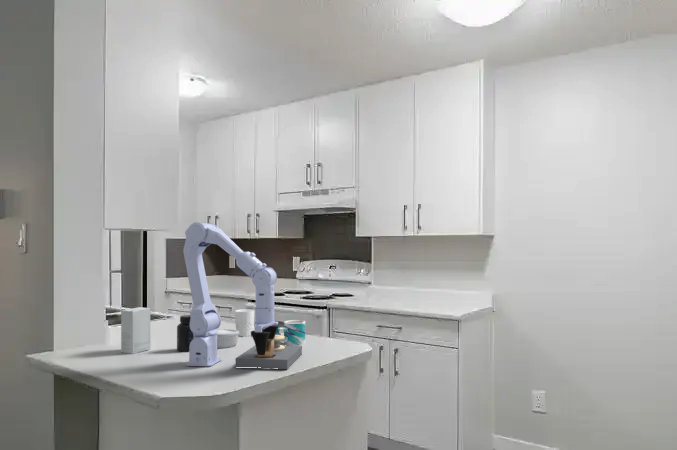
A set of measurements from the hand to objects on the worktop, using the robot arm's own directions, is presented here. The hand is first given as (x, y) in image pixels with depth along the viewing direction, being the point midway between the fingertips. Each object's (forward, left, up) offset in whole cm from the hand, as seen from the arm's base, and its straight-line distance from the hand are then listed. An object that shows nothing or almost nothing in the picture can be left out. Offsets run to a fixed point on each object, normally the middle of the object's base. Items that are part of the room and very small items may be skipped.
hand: (264, 352), depth 158 cm
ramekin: (+28, +24, -4) cm, 37 cm away
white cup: (+49, +23, -4) cm, 54 cm away
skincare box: (+15, +51, -4) cm, 53 cm away
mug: (+32, 0, -4) cm, 32 cm away
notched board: (+6, 0, -4) cm, 7 cm away
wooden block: (0, 0, -4) cm, 4 cm away
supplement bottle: (+19, +34, -4) cm, 39 cm away
